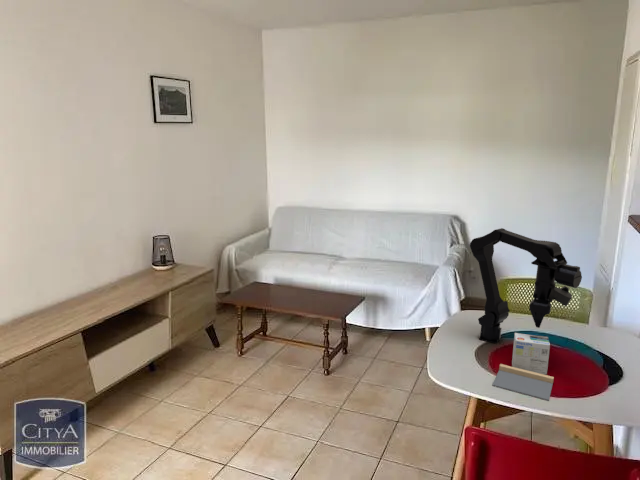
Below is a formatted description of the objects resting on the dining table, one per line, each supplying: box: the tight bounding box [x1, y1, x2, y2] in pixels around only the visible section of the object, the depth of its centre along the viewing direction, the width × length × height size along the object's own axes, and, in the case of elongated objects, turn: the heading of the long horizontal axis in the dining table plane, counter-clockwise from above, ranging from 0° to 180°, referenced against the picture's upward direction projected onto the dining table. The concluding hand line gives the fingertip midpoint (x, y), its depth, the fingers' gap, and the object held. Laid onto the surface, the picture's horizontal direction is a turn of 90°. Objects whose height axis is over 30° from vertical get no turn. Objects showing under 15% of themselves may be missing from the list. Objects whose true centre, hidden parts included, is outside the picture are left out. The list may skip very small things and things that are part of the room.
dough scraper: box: [491, 363, 555, 401], centre depth 147 cm, size 16×12×2 cm
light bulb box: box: [511, 332, 551, 375], centre depth 156 cm, size 11×7×11 cm, turn 71°
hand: (539, 322), depth 162 cm, fingers open, 9 cm apart
